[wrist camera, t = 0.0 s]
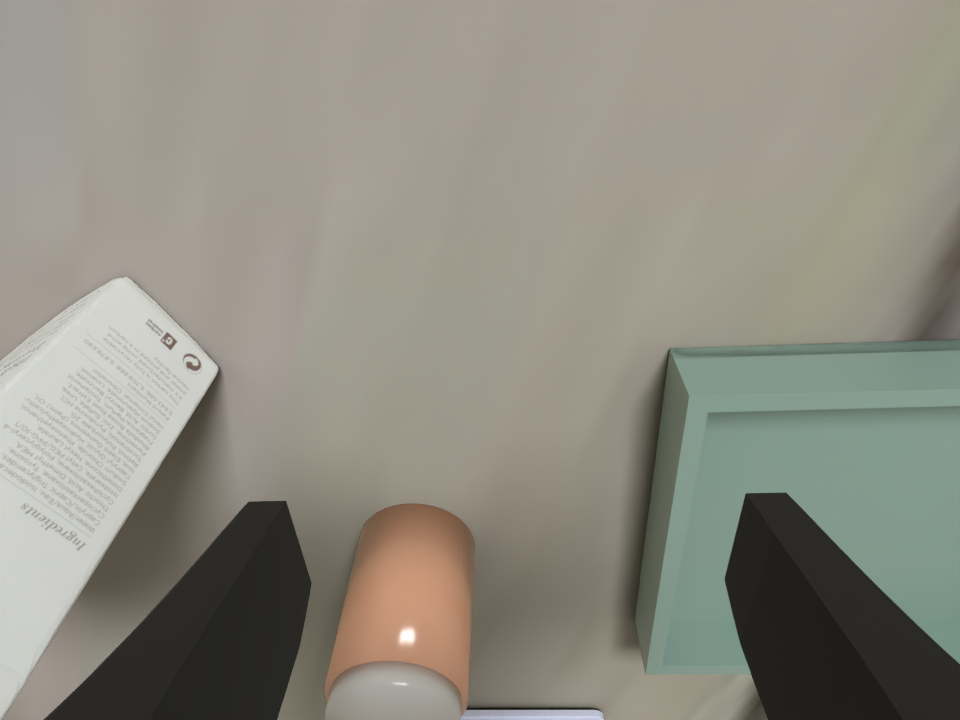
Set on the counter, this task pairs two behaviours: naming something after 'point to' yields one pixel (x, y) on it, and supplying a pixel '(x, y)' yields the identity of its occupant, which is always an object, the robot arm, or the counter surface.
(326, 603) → the counter surface
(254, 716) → the robot arm
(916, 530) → the tray
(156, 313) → the skincare box
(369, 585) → the salt shaker
